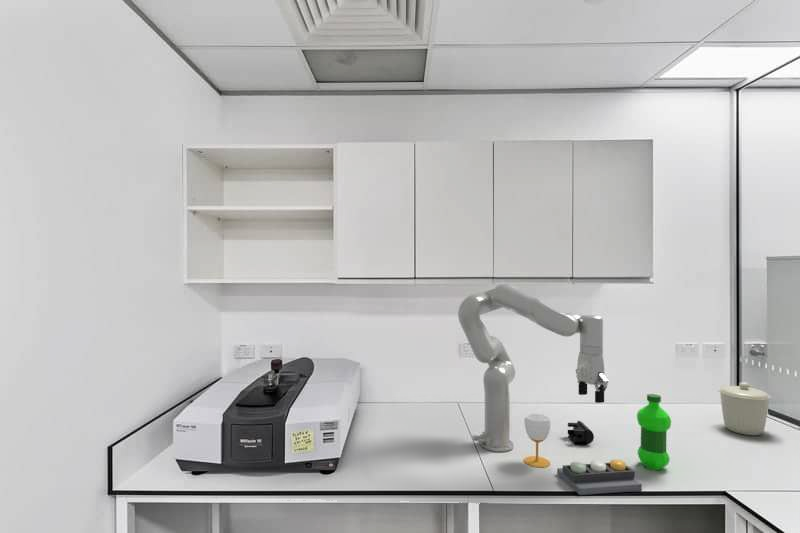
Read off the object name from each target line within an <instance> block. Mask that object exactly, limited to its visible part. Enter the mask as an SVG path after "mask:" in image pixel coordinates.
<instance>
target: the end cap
mask: <svg viewBox="0 0 800 533" xmlns="http://www.w3.org/2000/svg"><path fill="white" fill-rule="evenodd" d="M567 427H568V428H572V429H567V437H568V440H570V441H571V442H572V444H573V445H574V446H580V447H581V446H582V447H583V446H584V447H586V446H588V445H590V444H591V443H593V442H594V439H595V435H594V432H593V431H592V430H591V429H590V428H589V427H588V426H586V424H585V423H584V422H582V421H580V420H577V421H576V422H567Z"/></svg>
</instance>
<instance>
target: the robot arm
mask: <svg viewBox="0 0 800 533" xmlns="http://www.w3.org/2000/svg"><path fill="white" fill-rule="evenodd" d="M502 308H504V309H507V310H508V311H511V312H513V313H515V314H516V315H520V316H522V317H523V318H526V319H528V320H529V321H530V322H533V323H534V324H536V325H538V326H539V327H541V328H543V329H546V330H548V331H550V332H552V333H555V334H556V335H559V336H562V337H572V336H573V335H576V334H579V353H578V358H577V366H576V368H575V374H576V378H577V383H578V395H580V396H581V395H582V396H584V395H588V384H589V385H591V386H592V385H594V388H595V391H594V402H595V403H596V404H598V403H599V404H600V403H601V404H602V403H604V402H605V392H606V390H607V388H608V384H609V380H608V379H607V378H606V376H605V364H604V363H605V361H604V356H603V355H604V320H603V317H602V316H599V315H596V314H595V315H593V314H577V313H572V312H568V313H563V312H560V311H558V310H555V309H553V308H551V307H549V306H547V305H546V304H544V303H543V302H542V301H541V300H540V299H539V298H538V297H536V296H534V295H532V294H529V293H527V292H524V291H522V290H520V289H518V288H517V287H516V286H515V285H514V284H511V283H501V284H499V285H497V286H496V287H495V288H492V289H490V290H486V291H483V292H480V293H474V294H473V293H472V294H470V295H468V296H467V297H465V298H464V299H463V300H462V302H461V304H460V305H459V308H458V313H457V316H458V317H457V318H458V321H459V324H460V326H461V329H462V331H463V333H464V334H465V337H466V339H467V341H468V344H469V345H470V348H471V350H472V352H473V354H474V356H475V358H476V360H477V361H479V362H480V363H482V364H487V365H488V367H487V369H486V370H485V371H484V374H483V378H482V379H483V391H484V431H482V432H481V433H482V434H480V435H472V436H471V437H472V441H473V442H474V441H477V443H479V445H480V446H481V448H483V449H485V450H488V451H491V452H497V453H498V452H500V453H502V452H504V453H505V452H509V451H512V450H513V448H514V442H513V441H512V440H510V428H511V427H510V426H511V425H510V423H511V422H510V421H511V420H510V417H511V415H510V414H511V409H510V407H511V405H510V404H511V402H510V400H511V399H510V397H511V396H510V390H509V388H510V383H512V381H514V379H515V376H516V369H515V366H514V364H513V362H512V360H511V358H510V356H509V354H508V352H507V349H506V348H505V346H504V344H503V342H502V341H501V340H500V338H498V337H496V336H494V335H490V333H489V331H488V330H487V327H486V326H485V323H484V322H483V321H482V319H481V315H484V314H487V313H490V312H493V311H496V310H500V309H502Z"/></svg>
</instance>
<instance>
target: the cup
mask: <svg viewBox="0 0 800 533" xmlns="http://www.w3.org/2000/svg"><path fill="white" fill-rule="evenodd" d="M524 427H525V428H524V429H525V431H526V434H527V437H528V438H529V439H530V440H531V441H532V442H534V443H535V455H531V456H530V455H529V456H525V458H524V459H523V462H524V463H525V464H527V466H530V467H534V468H548V467H549V466H550V465H551V462H550V460H548V459H547V458H545V457H543V456H539V443H542V442H544V441H545V440H546V439H547V438H548V436H549V434H550V431H551V419H550V417H549V416H548V415H546V414H540V413H528V414H526V415H525V417H524Z"/></svg>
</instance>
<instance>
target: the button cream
mask: <svg viewBox="0 0 800 533" xmlns="http://www.w3.org/2000/svg"><path fill="white" fill-rule="evenodd" d="M605 463H606V462H604V461H599V460H592V461H590V464H591V470H593V471H594V472H595V473H597V472H606V464H605Z"/></svg>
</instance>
